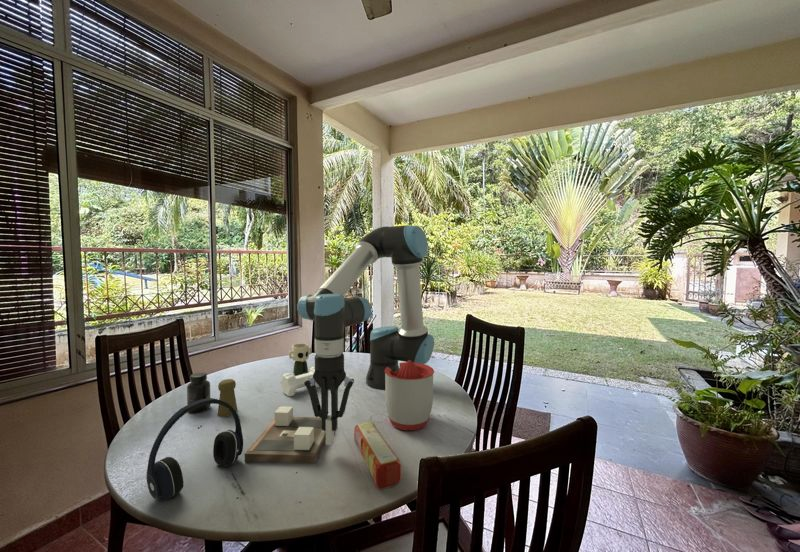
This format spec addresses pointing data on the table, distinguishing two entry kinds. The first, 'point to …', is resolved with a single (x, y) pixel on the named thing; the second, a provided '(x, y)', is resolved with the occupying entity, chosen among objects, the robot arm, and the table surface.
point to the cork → (227, 397)
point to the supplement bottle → (198, 391)
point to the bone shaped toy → (295, 382)
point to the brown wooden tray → (286, 443)
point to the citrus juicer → (409, 395)
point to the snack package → (377, 455)
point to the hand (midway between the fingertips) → (329, 441)
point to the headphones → (167, 471)
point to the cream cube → (303, 438)
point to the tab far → (283, 416)
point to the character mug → (300, 357)
